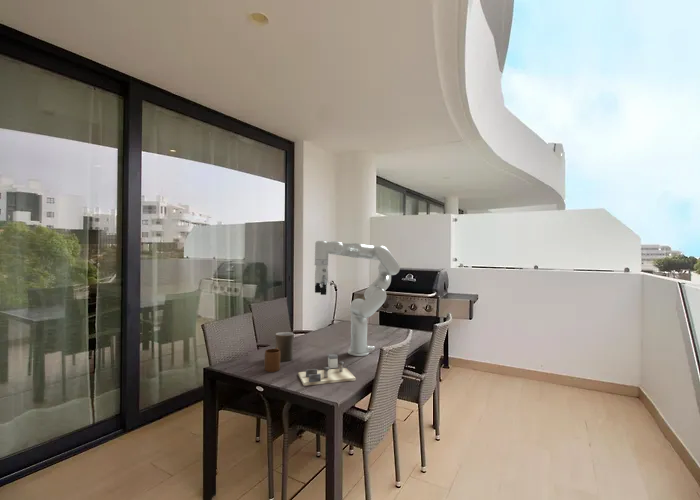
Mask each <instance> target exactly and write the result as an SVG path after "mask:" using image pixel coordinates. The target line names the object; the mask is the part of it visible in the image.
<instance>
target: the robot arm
mask: <svg viewBox="0 0 700 500" xmlns="http://www.w3.org/2000/svg"><path fill="white" fill-rule="evenodd" d="M329 255H332V256H333V255H335V256H343V257H349V258H350V257H351V258H354V259H363V260H372V261H379V264H378V276H377V278H376V279H375V280H374V281H373V282H372V283H371V284H370V285H369V286H368V287H367V288H366V289H365V291H364V293H363V297H364V299H363V298H355V299H353V300H352V301H351V303H350V307H349V313H350V348H349V349H348V350H347V354H348V355H350V356H353V357H354V356H356V357H365V356H369V355H370V350H375V349H376V348H375V346H374V345H368V318H370V317H372V316H373V315H374V314H375V313H376V312H377V311H379V309H380V308H381V307H382V306H383V304H385V302H386V300H387V291H386V290H387V289H388V288H389V287H390V285H391V282H392V276H396V275H397V274H399V272H400V269H401V268H400V267H401V266H400V264H399V262H398V260H397V259H396V258H395V256H394V255H393V254H392V252H391V251H390V250H389V249H388V248H387V247H386V246H384V245H372V244H365V243H356V242H355V243H352V242H351V243H345V242H340V241H339V240H334V241H333V240H331V241H327V240H317V241H315V243H314V266H315V270H314V271H315V272H314V293H315V294H316V293H317V294H320V295H321V296H324V295H325V296H326V295H327V285H328V283H329V267H328V266H329Z"/></svg>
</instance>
